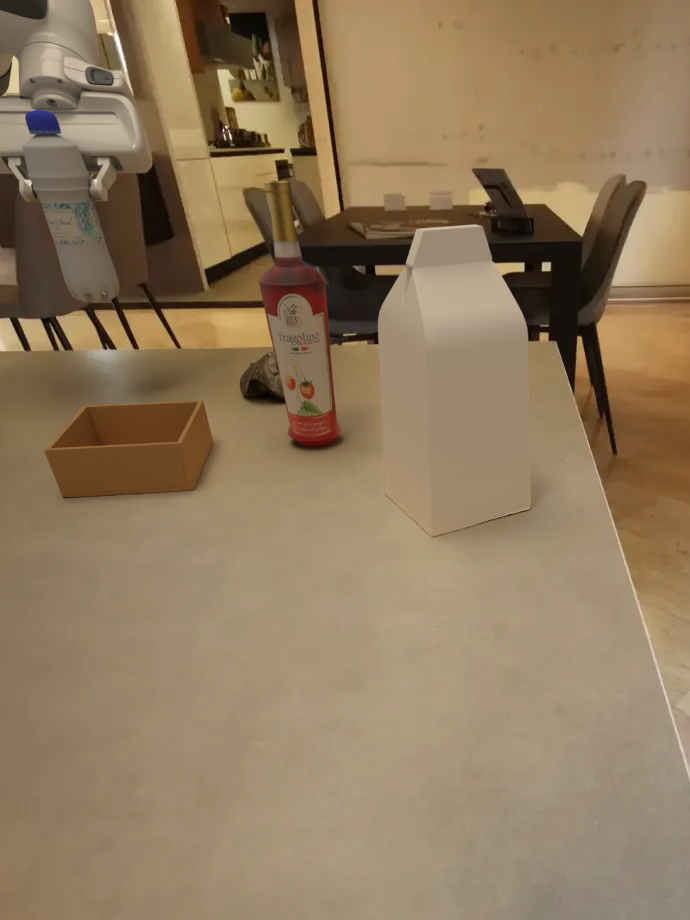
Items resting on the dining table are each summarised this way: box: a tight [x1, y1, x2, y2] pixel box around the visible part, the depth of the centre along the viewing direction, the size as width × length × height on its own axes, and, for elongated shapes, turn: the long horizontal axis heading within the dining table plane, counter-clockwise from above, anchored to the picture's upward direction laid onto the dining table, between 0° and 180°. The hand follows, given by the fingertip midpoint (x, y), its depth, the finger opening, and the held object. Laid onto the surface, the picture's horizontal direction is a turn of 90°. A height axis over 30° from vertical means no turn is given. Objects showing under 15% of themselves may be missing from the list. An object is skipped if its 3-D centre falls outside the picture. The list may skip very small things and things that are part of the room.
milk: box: [377, 224, 532, 538], centre depth 69 cm, size 12×12×26 cm
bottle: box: [23, 110, 120, 303], centre depth 87 cm, size 7×7×20 cm
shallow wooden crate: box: [43, 399, 214, 498], centre depth 82 cm, size 14×14×6 cm
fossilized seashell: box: [239, 351, 285, 400], centre depth 103 cm, size 8×7×10 cm
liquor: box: [257, 180, 343, 448], centre depth 82 cm, size 7×7×28 cm
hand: (64, 198), depth 86 cm, fingers closed on bottle, 6 cm apart
